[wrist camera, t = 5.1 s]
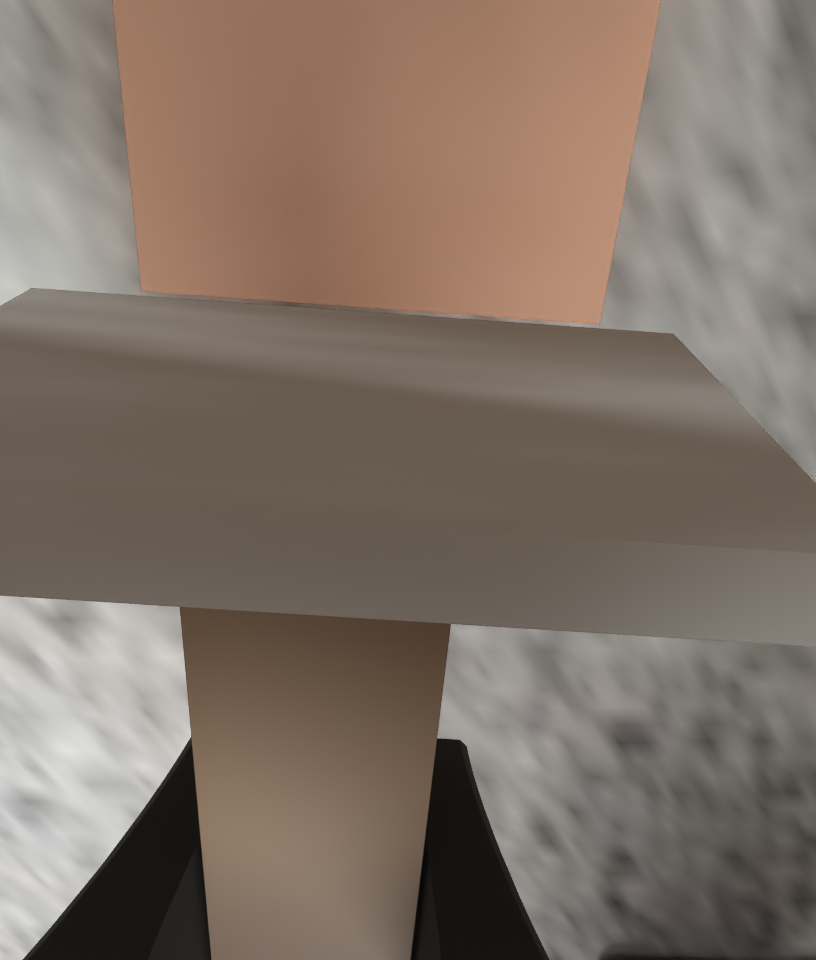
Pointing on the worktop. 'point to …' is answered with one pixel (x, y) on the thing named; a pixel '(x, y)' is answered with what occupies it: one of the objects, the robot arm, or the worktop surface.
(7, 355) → the scraper
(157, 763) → the worktop surface
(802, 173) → the worktop surface
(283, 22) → the tile
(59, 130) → the worktop surface
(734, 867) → the worktop surface
